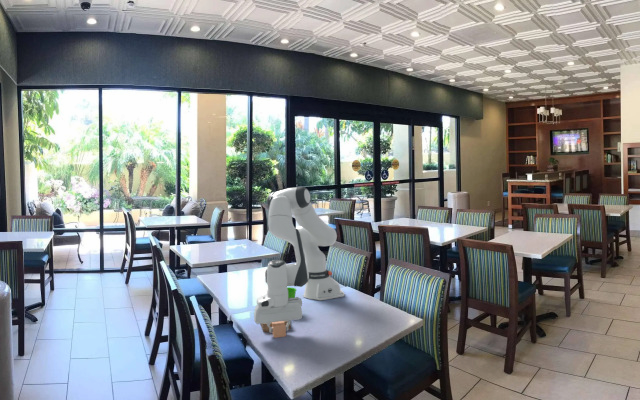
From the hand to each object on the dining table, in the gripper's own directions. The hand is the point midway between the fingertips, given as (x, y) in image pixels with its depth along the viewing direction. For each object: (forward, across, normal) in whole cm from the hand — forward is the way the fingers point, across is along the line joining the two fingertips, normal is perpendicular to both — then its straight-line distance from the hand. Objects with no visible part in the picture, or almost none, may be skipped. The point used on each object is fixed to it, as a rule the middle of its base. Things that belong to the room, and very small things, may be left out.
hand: (278, 331), depth 181 cm
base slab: (+2, 0, -11) cm, 11 cm away
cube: (+2, 0, 0) cm, 2 cm away
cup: (+2, -9, -27) cm, 29 cm away
